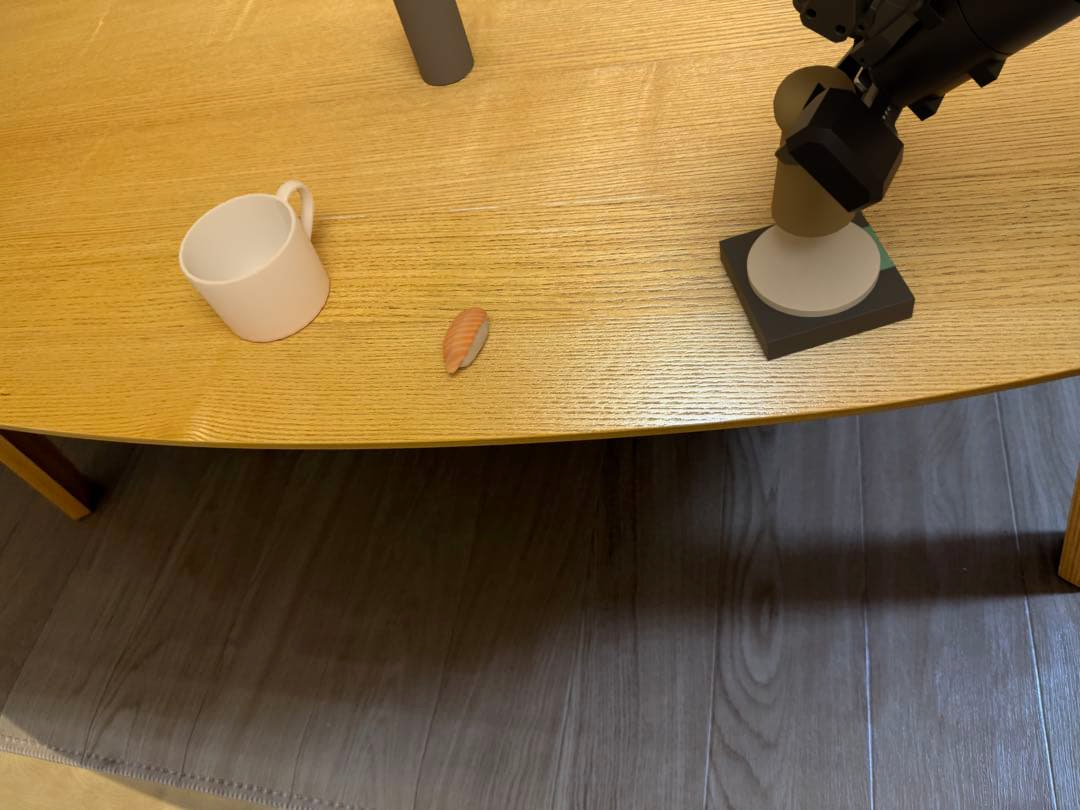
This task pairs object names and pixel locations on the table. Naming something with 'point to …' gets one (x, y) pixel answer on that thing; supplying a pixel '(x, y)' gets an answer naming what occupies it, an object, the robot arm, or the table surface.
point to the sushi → (465, 338)
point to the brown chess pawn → (795, 190)
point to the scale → (814, 285)
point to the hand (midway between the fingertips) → (795, 132)
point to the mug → (258, 263)
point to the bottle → (436, 39)
